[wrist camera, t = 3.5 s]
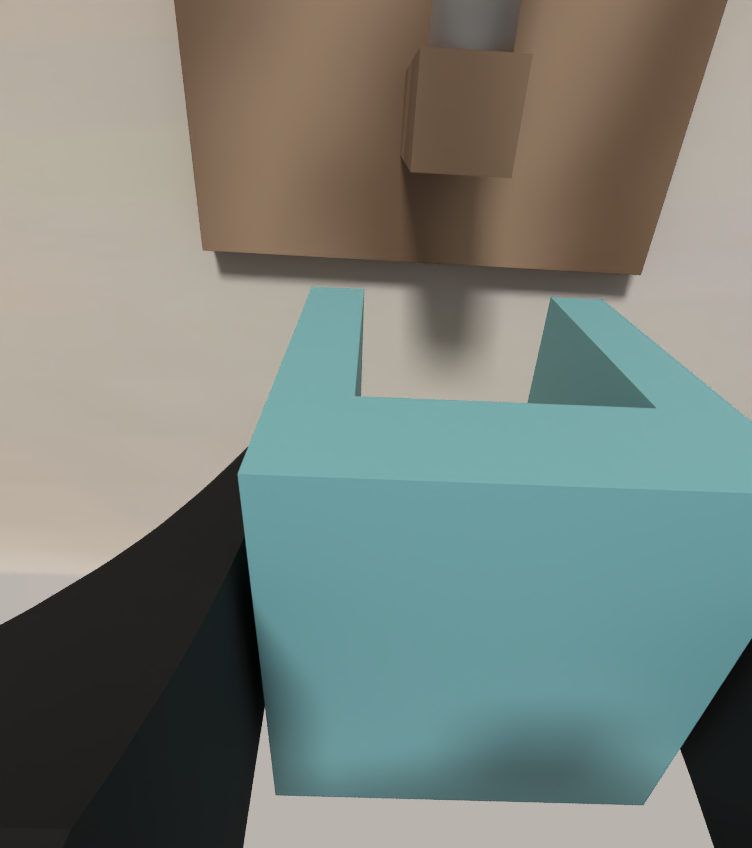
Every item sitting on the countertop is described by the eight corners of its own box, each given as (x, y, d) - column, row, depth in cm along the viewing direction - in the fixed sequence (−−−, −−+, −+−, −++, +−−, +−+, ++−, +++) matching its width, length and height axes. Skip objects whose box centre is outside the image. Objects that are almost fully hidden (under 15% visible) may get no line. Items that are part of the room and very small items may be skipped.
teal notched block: (602, 299, 10) (843, 497, 5) (538, 532, 13) (642, 804, 8) (311, 286, 10) (237, 474, 5) (317, 524, 13) (275, 795, 8)
